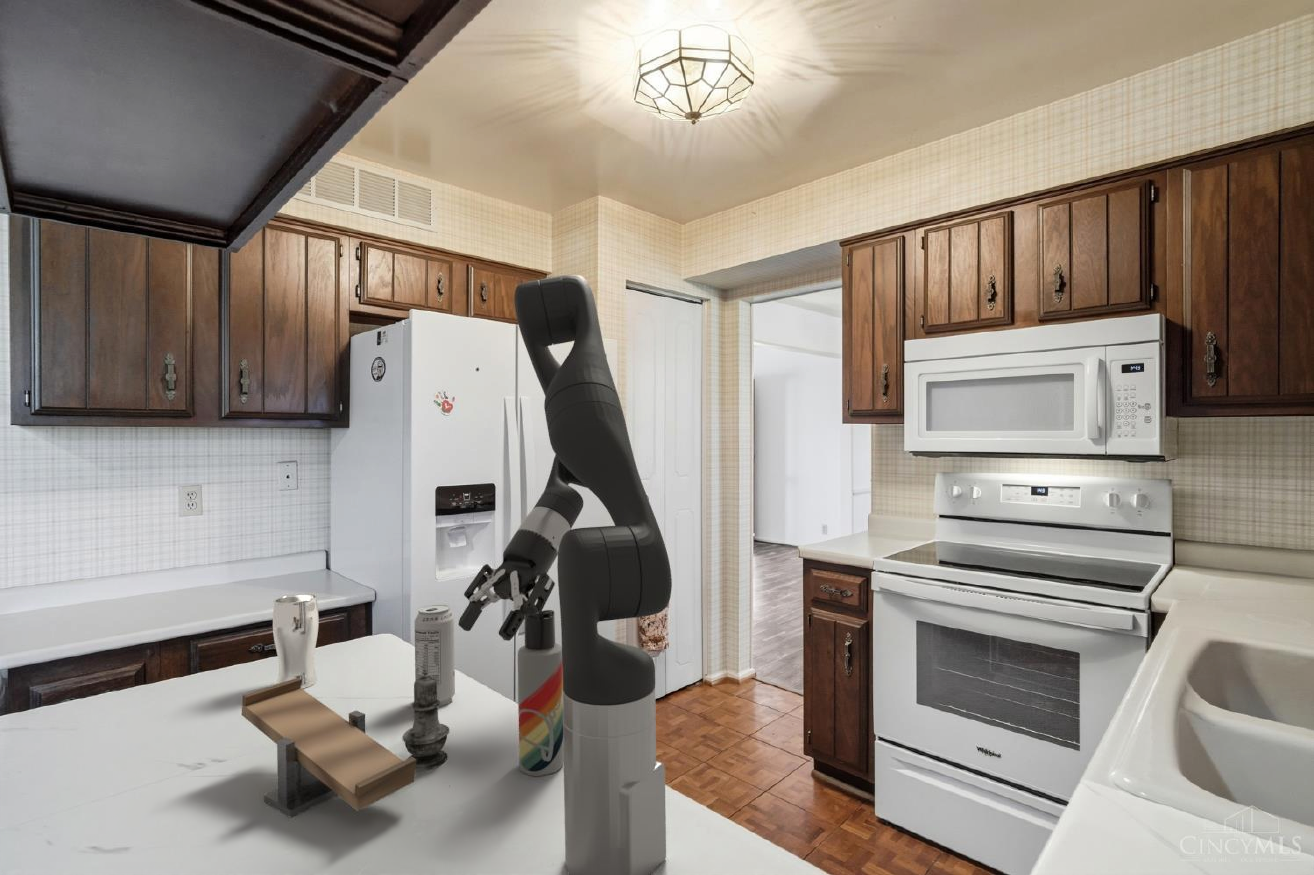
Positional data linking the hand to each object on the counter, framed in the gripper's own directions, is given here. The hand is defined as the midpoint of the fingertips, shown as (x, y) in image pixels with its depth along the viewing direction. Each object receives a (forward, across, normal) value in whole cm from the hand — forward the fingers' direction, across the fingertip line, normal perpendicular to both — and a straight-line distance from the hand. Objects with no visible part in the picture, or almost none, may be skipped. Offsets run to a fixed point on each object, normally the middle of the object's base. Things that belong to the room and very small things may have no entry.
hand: (482, 632), depth 93 cm
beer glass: (+14, -42, +7) cm, 45 cm away
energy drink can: (+8, -15, +12) cm, 21 cm away
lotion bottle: (+12, +14, +8) cm, 20 cm away
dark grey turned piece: (+17, 0, +3) cm, 18 cm away
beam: (+21, -5, -8) cm, 23 cm away
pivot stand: (+25, -5, -5) cm, 26 cm away
